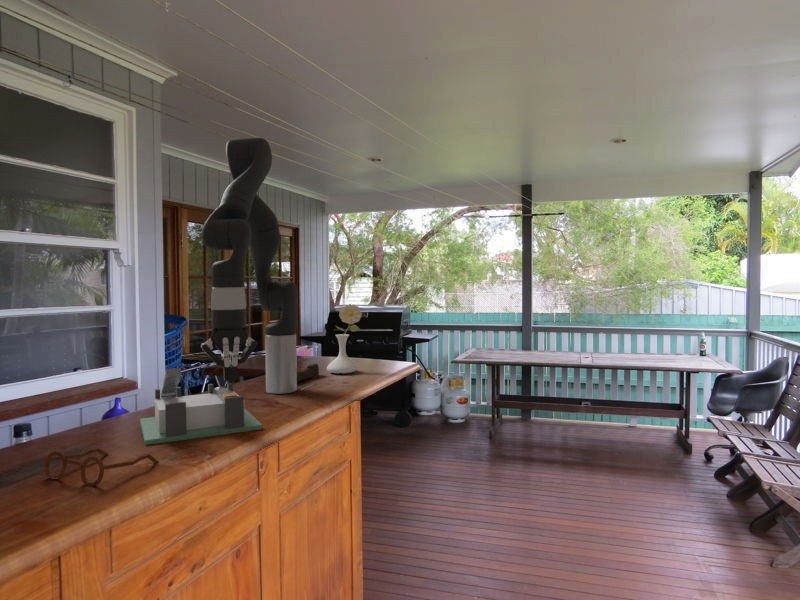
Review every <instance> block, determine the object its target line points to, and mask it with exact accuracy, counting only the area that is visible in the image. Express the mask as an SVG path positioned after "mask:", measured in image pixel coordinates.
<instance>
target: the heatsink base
mask: <svg viewBox="0 0 800 600" xmlns="http://www.w3.org/2000/svg"><path fill="white" fill-rule="evenodd" d="M233 384H234V383H227V382H226V385H227V386H226V387H227V388H228V389H229V390H230V391H231V392H233V393H235V394H236V395H237V397H227V398H224V401H223V400H222V399H221V398H220V397H219V396H218V395H217V394H216V393H214V384H213V383H207V393H203V394H201V393H200V394H191V395H183V396H182V387H181V386H177V390H176V394H175V397H166V398H161V388H154V416H152V417H143V418H140V419H139V420H140V421H139V423H140V428H141V432H142V436H143V438H142V439H143V441H144V445H145V446H148V445H154V444H155V445H156V444H162V443H169V442H170V443H171V442H178V441H185V440H193V439H194V440H195V439H201V438H206V437H214V436H221V435H223V436H224V435H228V434H237V433H245V432H252V431H259V430H263V424H262V423H261V422H260V421H259V420H258V419H256V417H255V416H254V415H253V414H252V413H251V412H250V411H248V410H247V409H246V402H245V399H244V398H245V397H244V396H243V395H239V394H238V393H236V391H234V389H233V388H234V386H233Z"/></svg>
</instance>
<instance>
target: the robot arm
mask: <svg viewBox="0 0 800 600" xmlns="http://www.w3.org/2000/svg"><path fill="white" fill-rule="evenodd" d="M225 155H226V162H227V166H228V168H229V172H230V176H231V178H232V181H231V182H230V183H229V184H228V186H227V187H226V189H225V190H224V192H223V194H222V197H221V201H220V203H219V206H218V207H216V208H215V209H214V210H213V212H212V213H211V214H210V215H209V217H208V218H207V219H206V220H205V221H204V223H203V226H202V230H201V239H202V242H203V244H204V246H205V247H206V248H207V249H209V250H211V251H232V253H231V255H230V257H229V258H227V259H223V260H219V261H215V262H213V263H212V265H211V296H210V297H211V298H210V304H211V305H210V309H211V310H210V311H211V314H210V315H211V332H210V334H209V339H207V340H206V341H205V342H201V344H200V348H201V349H202V351H203V352H204V353H205V354H206V355H207V356H208V357H209V358H210V360H212V361H213V363H215V364H216V366H222V368H223V380H224V381H225V382H226V384H227V383H233V384H235V383H236V382H235V381H237V379H238V366H240V365H242V364H244V363H246V361H247V360H248V359H249V357H250V355H251V354H253V352H254V351H255V349H256V348H257V346H258V344H259V342H258V341H257V340H255V339H253V338H252V337H250V335H249V332H248V330H247V301H246V300H247V299H246V291H245V265H246V259H247V256H248V251H249V250H250V255H251V258H252V259H251V260H252V264H253V269H254V273H255V282H256V290H257V291H256V292H257V296H258V300H259V305H260V308H262V310H263V311H265V312H269V313H281V317H280V318H279V319H278V320H276V321H274V322H272V323H269V324H267V325H266V326H265V328H264V340H265V341H264V343H265V345H264V347H265V349H264V350H265V355H264V356H265V392H266V393H268V394H278V395H279V394H290V393H295V392H296V391H297V390H298V382H297V372H298V367H297V366H298V365H297V364H298V362H297V361H298V360H297V358H298V357H297V325H298V306H299V305H298V303H299V293H298V292H299V291H298V288H297V284H296V283H295V282H293V281H289V280H288V281H287V280H284V281H282V280H278V281H276V280H275V281H273V279H272V276H271V275H272V274H271V268H272V265H273V261H274V259H275V257H276V255H277V253H278V250H279V248H280V244H281V240H282V237H281V232H280V227H279V222H278V218H277V216H276V214H275V212H274V211H273V210H272V209H271V208H270V207H269V206H268V205H267V203H266V202H265V201H264V200H263V199H262V197H260V196H259V195H258V194H257V192H259V190H260V188H261V186H262V184H263V183H264V181H265V179H266V178H267V176H268V174H269V172H270V170H271V168H272V164H273V163H272V162H273V154H272V149H271V146H270V144H269V142H268V141H267V139H266V138H264V137H263V138H262V137H248V138H235V139H230V140H228V141H227V142H226V144H225ZM244 344H245V346H246V347H245V348H244V349H243V351H242V352H241V354H240V355H239V353H240V350H242V348H243V346H244ZM213 345H214V346H215V347H216V348H217V350H219V352H220V354H221V358H219V356H217V354H216V353H215V352H214V351H213V349H214V347H213Z"/></svg>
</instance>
